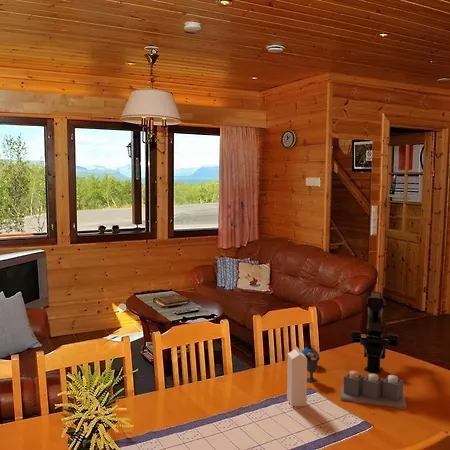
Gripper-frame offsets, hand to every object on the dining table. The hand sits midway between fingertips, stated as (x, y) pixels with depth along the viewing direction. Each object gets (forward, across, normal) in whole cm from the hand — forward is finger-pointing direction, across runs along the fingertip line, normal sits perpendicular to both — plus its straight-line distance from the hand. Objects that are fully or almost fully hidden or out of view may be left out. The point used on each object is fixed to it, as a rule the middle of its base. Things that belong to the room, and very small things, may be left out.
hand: (373, 357), depth 196 cm
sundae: (+9, -25, +11) cm, 29 cm away
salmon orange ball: (+11, -7, 0) cm, 13 cm away
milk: (+25, -28, -5) cm, 38 cm away
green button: (+12, 0, 0) cm, 12 cm away
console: (+15, 0, +4) cm, 16 cm away
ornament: (-3, -28, +22) cm, 36 cm away
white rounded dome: (+11, +7, 0) cm, 13 cm away
